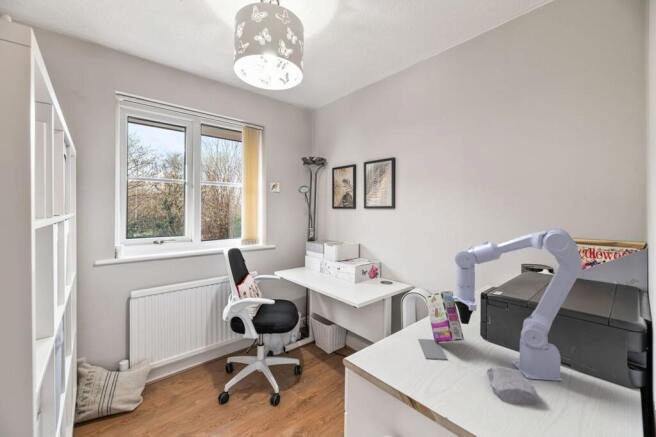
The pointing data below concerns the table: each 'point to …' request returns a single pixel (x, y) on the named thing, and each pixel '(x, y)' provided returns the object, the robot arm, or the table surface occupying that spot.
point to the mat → (432, 349)
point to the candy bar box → (444, 317)
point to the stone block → (511, 386)
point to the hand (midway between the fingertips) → (464, 323)
